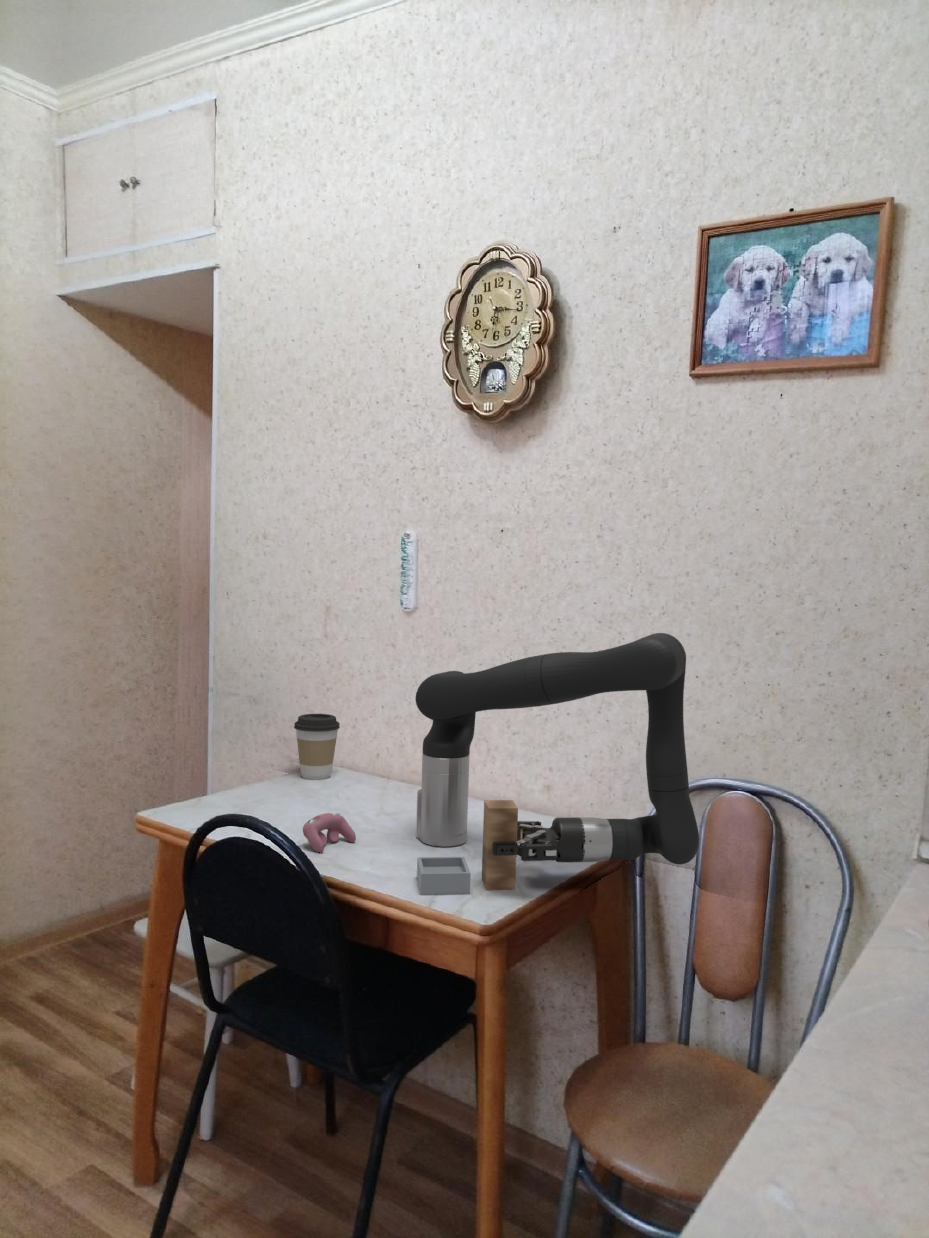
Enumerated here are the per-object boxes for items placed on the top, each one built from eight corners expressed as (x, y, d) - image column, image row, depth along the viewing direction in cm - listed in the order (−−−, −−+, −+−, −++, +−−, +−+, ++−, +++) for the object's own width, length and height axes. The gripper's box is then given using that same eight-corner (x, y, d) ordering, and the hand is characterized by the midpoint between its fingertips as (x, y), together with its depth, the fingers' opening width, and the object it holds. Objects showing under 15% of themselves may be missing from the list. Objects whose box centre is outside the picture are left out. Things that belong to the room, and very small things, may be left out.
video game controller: (344, 845, 177) (334, 811, 179) (359, 840, 174) (348, 805, 176) (306, 858, 169) (295, 822, 171) (321, 852, 167) (310, 815, 168)
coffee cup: (345, 772, 229) (346, 714, 228) (330, 783, 218) (331, 722, 217) (302, 769, 231) (303, 711, 230) (285, 780, 220) (286, 719, 219)
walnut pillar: (485, 890, 152) (488, 808, 151) (481, 879, 157) (484, 800, 156) (515, 889, 152) (518, 808, 151) (509, 879, 157) (512, 800, 156)
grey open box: (420, 894, 149) (421, 873, 148) (416, 876, 157) (417, 857, 157) (469, 893, 150) (470, 873, 150) (463, 876, 158) (464, 856, 158)
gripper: (572, 806, 163) (483, 807, 161) (593, 830, 149) (496, 831, 146) (570, 847, 163) (481, 848, 161) (591, 875, 149) (494, 876, 147)
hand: (488, 840), depth 154 cm, fingers open, 8 cm apart
